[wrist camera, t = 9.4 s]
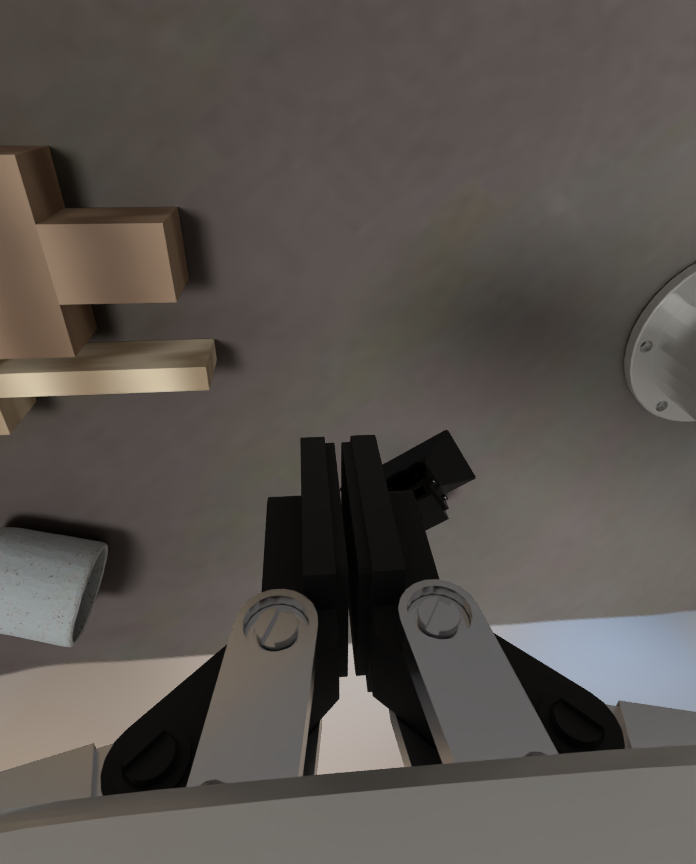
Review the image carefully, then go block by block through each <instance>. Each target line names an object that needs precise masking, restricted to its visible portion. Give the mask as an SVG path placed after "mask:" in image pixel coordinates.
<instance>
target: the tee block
mask: <svg viewBox="0 0 696 864" xmlns="http://www.w3.org/2000/svg"><path fill="white" fill-rule="evenodd" d="M188 280H189V276H188V269H187V263H186V257H185V250H184V244H183V238H182V232H181V225H180V219H179V213H178V207H126V208H65V205H64V201H63V198H62V194H61V190H60V186H59V183H58V179H57V175H56V171H55V168H54V164H53V160H52V156H51V153H50V149H49V146H0V359H24V358H60V357H76V355H77V354H78V353H79V352H80V350H81V349H82V348H83V347H84V345H85V344H86V343H87V342H88V340H89V339H90V338H91V337H92V335H93V334H94V333H95V332H96V330H97V325H96V321H95V318H94V314H93V310H92V306H91V304H118V303H165V302H177V300H178V298H179V297H180V295H181V293H182V291H183V289H184V287H185V285H186V284H187V282H188Z"/></svg>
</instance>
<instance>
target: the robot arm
mask: <svg viewBox="0 0 696 864" xmlns="http://www.w3.org/2000/svg"><path fill="white" fill-rule="evenodd" d="M624 373H625V379H626V382H627V385H628V388H629V390H630V392H631V393H632V395H633V396H634V398H635V399H636V400H637V401H638V402H639V403H640V404H641V405H642V406H643V407H644V408H645V409H646V410H648V411H649V412H651V413H652V414H654V415H655V416H658V417H661V418H664V419H666V420H671V421H678V422H692V421H696V263H695V264H693V265H691V266H690V267H688V268H686V269H685V270H684V271H682V272H681V273H680V274H678V275H677V276H676V277H675V278H673V279H672V280H671V281H669V282H668V283H667V284H666V285H665V286H664V287H663V288H662V289H661V290H660V291H659V292H658V293H657V294H656V295H655V296H654V298H653V299H652V300H651V301H650V303H649V304H648V305H647V307H646V308H645V309H644V311H643V312H642V313H641V315H640V317H639V319H638V321H637V322H636V324H635V326H634V328H633V330H632V332H631V335H630V338H629V341H628V343H627V347H626V352H625V358H624ZM300 441H301V495H302V496H285V497H268V501H267V515H266V531H265V547H264V563H263V579H262V593H258V594H257V595H255V596H254V597H252V598H250V599H249V600H248V601H247V602H246V603H245V604H244V605H243V606H242V607H241V608H240V609H239V611H238V613H237V615H236V618H235V620H234V623H233V627H232V630H231V634H230V637H229V640H228V644H227V645H226V646H225V647H223V648H222V649H221V650H220V651H219V652H217V653H216V654H215V655H214V656H213V657H212V658H210V659H209V660H208V661H207V662H206V663H205V664H203V665H202V666H201V667H200V668H199V669H197V670H196V671H195V672H194V673H193V674H192V675H190V676H189V677H188V678H187V679H186V680H184V681H183V682H182V683H181V684H180V685H179V686H177V687H176V688H175V689H174V690H173V691H172V692H170V693H169V694H168V695H167V696H166V697H165V698H163V699H162V700H161V701H160V702H159V703H157V704H156V705H155V706H154V707H153V708H152V709H150V710H149V711H148V712H147V713H146V714H144V715H143V716H142V717H141V718H140V719H139V720H138V721H136V722H135V723H134V724H133V725H131V726H130V727H129V728H128V729H127V730H126V731H125V732H124V733H123V734H122V735H121V736H120V737H119V738H118V739H117V740H116V741H115V742H114V743H113V744H110V745H107V746H104V747H100V748H97V749H96V747H95V745H94V743H93V744H90V745H86V746H83V747H80V748H77V749H74V750H70V751H67V752H63V753H60V754H57V755H54V756H51V757H47V758H44V759H41V760H37V761H34V762H31V763H28V764H24V765H21V766H18V767H15V768H11V769H8V770H5V771H2V772H0V864H696V712H692V711H686V710H679V709H672V708H665V707H658V706H652V705H645V704H639V703H632V702H625V701H618V704H617V705H616V706H612V705H605V703H604V702H602V701H601V700H599V699H598V698H597V697H596V696H594V695H593V694H592V693H590V692H588V691H587V690H586V689H584V688H582V687H581V686H579V685H577V684H576V683H574V682H573V681H571V680H569V679H568V678H566V677H564V676H563V675H561V674H559V673H558V672H556V671H555V670H553V669H551V668H549V667H548V666H547V665H545V664H543V663H542V662H540V661H538V660H537V659H535V658H533V657H532V656H530V655H529V654H527V653H525V652H524V651H522V650H520V649H519V648H517V647H516V646H514V645H512V644H511V643H509V642H507V641H506V640H504V639H503V638H501V637H499V636H498V635H496V634H494V633H493V632H492V630H491V628H490V626H489V624H488V622H487V620H486V618H485V617H484V615H483V613H482V611H481V609H480V607H479V605H478V604H477V602H476V601H475V600H474V598H473V597H472V596H471V594H470V593H468V592H467V591H466V590H464V589H463V588H462V587H460V586H458V585H456V584H454V583H451V582H449V581H444V580H439V576H438V573H437V570H436V566H435V563H434V559H433V556H432V552H431V549H430V546H429V542H428V539H427V535H426V532H425V529H424V525H423V522H422V518H421V515H420V511H419V508H418V505H417V501H416V498H415V495H414V492H413V491H412V490H407V491H388V488H387V484H386V480H385V475H384V471H383V467H382V462H381V458H380V454H379V449H378V445H377V441H376V437H375V435H356V436H351V437H350V442H342V444H341V498H340V489H339V481H338V472H337V463H336V454H335V445H334V443H325V438H324V437H308V438H300ZM348 607H349V616H350V626H351V636H352V645H353V654H354V664H355V672H356V676H360V675H366V681H367V690H368V692H372V693H373V697H375V698H376V699H377V700H378V701H380V702H381V703H382V704H384V705H385V706H386V707H387V708H389V713H390V720H391V724H392V727H393V730H394V733H395V737H396V740H397V743H398V747H399V750H400V753H401V756H402V760H403V763H404V766H405V767H403V768H402V767H401V768H390V769H379V770H368V771H356V772H345V773H334V774H323V775H317V768H318V757H319V748H320V739H321V729H322V720H321V719H322V717H323V716H324V715H325V714H326V713H327V712H328V710H330V708H331V707H332V706H333V705H334V704H335V703H336V702H337V701H338V699H339V677H347V676H348Z"/></svg>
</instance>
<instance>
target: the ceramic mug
mask: <svg viewBox="0 0 696 864" xmlns="http://www.w3.org/2000/svg"><path fill="white" fill-rule="evenodd" d="M107 553H108V546H107V544H106V543H104V542H100V541H94V540H88V539H82V538H76V537H71V536H65V535H59V534H52V533H46V532H41V531H35V530H30V529H24V528H15V527H2V528H0V633H1V634H7V635H11V636H16V637H21V638H26V639H31V640H36V641H40V642H45V643H50V644H54V645H59V646H65V647H72V646H73V645H75V644H76V643H77V641H78V640H79V638H80V637H81V635H82V633H83V631H84V628H85V626H86V624H87V622H88V619H89V617H90V614H91V611H92V608H93V605H94V603H95V600H96V597H97V594H98V591H99V588H100V584H101V581H102V577H103V574H104V568H105V564H106V561H107Z"/></svg>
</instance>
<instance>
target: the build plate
mask: <svg viewBox="0 0 696 864" xmlns="http://www.w3.org/2000/svg"><path fill="white" fill-rule="evenodd" d="M382 467H383V471H384V475H385V480H386V484H387V488H388V491H407V490H412V491H413V492H414V495H415V498H416V501H417V505H418V508H419V511H420V515H421V518H422V522H423V525H424V529H425V530H427V529H429V528H431V527H433V526H435V525H437V524H439V523H441V522H443V521H445V520H447V519H449V518H448V515H447V513H446V510H447V509H449V507H448V505H447V502H446V500H448V498H447V496H446V493H448V492H450V491H452V490H454V489H456V488H458V487H460V486H462V485H464V484H466V483H467V482H469V481H471V480H473V479H475V475H474V473H473V472H472V470H471V468H470V467H469V465H468V463H467V462H466V460H465V458H464V457H463V455H462V453H461V452H460V450H459V448H458V446H457V445H456V443H455V441H454V440H453V438H452V436H451V435H450V433H449V431H448V430H445V431H443V432H441V433H439V434H437V435H436V436H434V437H432V438H430V439H428V440H427V441H425V442H423V443H421V444H419V445H417V446H416V447H414V448H412V449H410V450H408V451H407V452H405V453H403V454H401V455H399V456H398V457H396V458H394V459H392V460H390V461H388V462H387V463H385V464H383V465H382ZM340 491H341V488H340Z"/></svg>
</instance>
